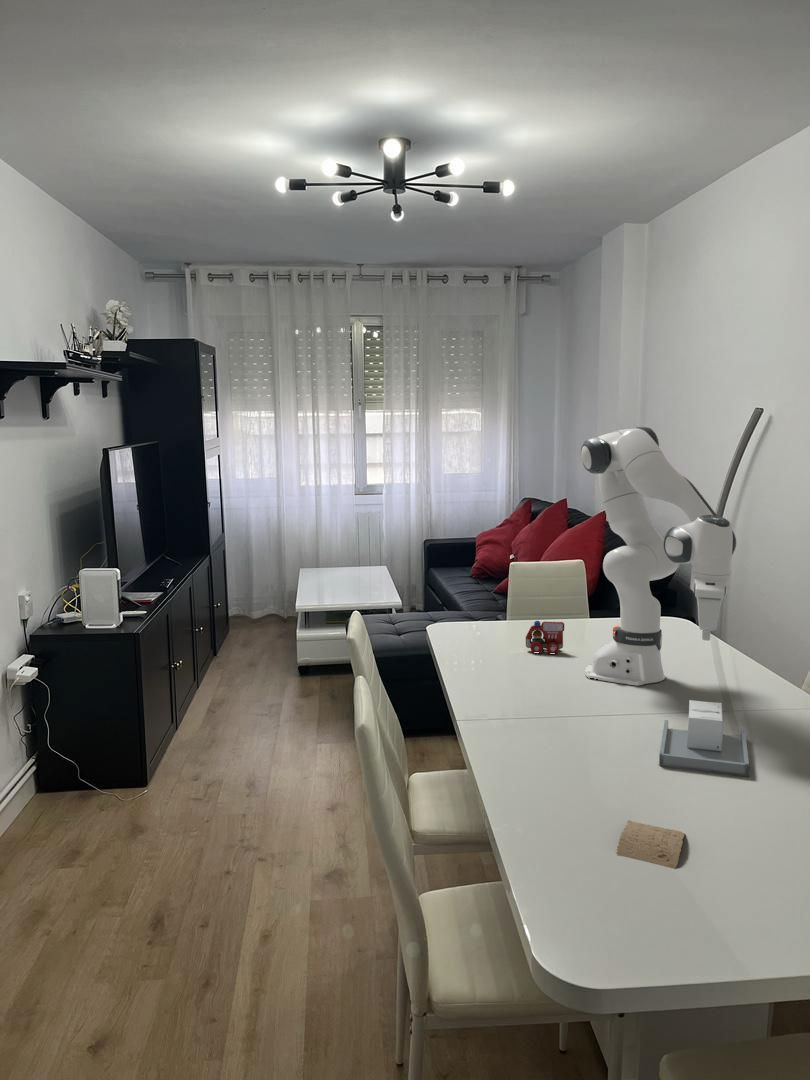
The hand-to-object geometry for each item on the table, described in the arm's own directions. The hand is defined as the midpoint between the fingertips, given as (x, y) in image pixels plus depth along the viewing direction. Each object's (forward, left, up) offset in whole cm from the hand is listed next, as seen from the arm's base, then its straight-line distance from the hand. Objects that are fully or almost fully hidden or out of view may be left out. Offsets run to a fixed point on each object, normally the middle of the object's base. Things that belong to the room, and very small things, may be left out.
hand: (705, 638), depth 194 cm
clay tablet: (-8, -66, -21) cm, 70 cm away
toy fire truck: (-49, +49, -21) cm, 72 cm away
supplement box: (0, -9, -16) cm, 18 cm away
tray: (0, -21, -21) cm, 29 cm away
